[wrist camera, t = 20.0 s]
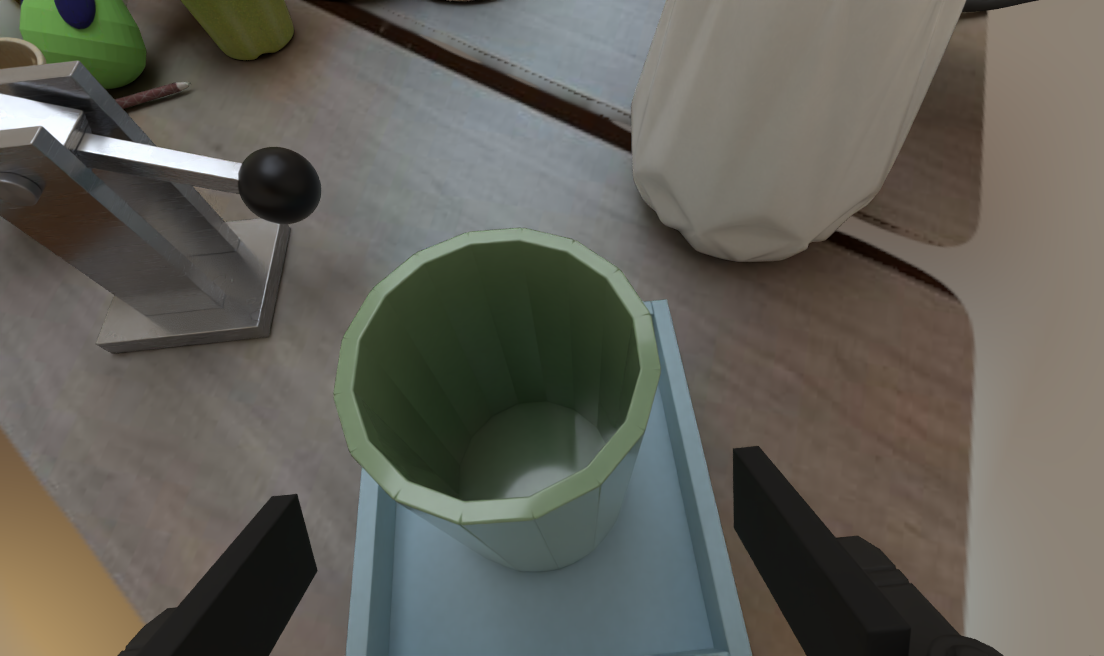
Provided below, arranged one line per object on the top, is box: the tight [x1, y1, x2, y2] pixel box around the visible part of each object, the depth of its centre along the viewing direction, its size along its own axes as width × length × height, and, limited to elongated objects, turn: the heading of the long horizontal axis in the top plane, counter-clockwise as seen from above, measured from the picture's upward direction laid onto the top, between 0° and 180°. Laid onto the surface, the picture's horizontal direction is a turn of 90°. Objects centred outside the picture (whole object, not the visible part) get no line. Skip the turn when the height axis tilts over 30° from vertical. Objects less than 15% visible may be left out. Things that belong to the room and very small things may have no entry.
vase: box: [631, 0, 966, 262], centre depth 26 cm, size 14×14×15 cm
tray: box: [346, 299, 752, 656], centre depth 23 cm, size 15×16×3 cm
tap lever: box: [0, 93, 321, 224], centre depth 24 cm, size 12×4×4 cm, turn 95°
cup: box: [333, 228, 661, 573], centre depth 19 cm, size 8×8×13 cm
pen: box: [115, 82, 191, 109], centre depth 40 cm, size 11×1×1 cm, turn 114°
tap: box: [0, 61, 290, 353], centre depth 26 cm, size 9×8×13 cm
